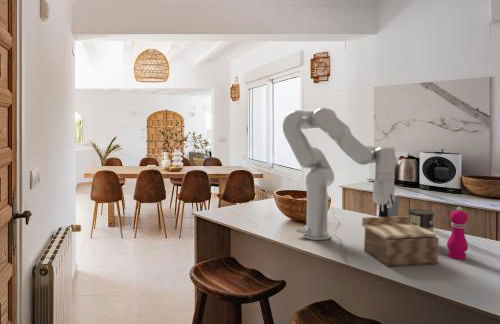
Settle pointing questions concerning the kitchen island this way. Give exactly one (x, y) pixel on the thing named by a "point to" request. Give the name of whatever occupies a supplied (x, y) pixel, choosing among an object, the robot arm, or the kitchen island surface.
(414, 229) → the box lid
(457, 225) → the pepper mill
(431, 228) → the coffee can
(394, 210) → the hard drive box
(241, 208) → the kitchen island surface
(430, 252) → the walnut box
